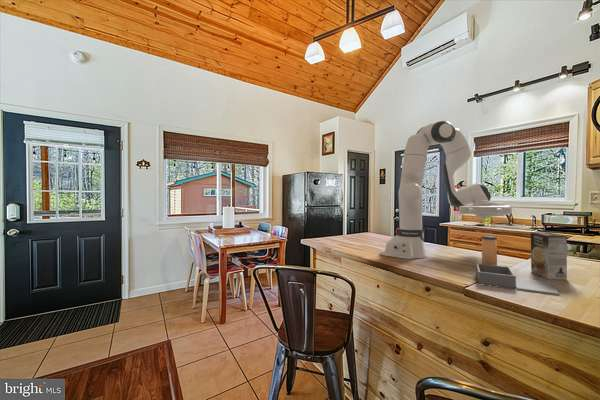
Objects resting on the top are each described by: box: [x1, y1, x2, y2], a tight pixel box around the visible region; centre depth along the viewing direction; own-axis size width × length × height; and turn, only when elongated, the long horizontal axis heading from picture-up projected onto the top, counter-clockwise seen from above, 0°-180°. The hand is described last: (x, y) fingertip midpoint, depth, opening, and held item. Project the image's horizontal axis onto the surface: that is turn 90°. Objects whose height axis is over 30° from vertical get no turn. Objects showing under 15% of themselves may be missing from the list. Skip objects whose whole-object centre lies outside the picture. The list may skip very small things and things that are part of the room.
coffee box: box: [530, 231, 568, 280], centre depth 94 cm, size 9×6×16 cm
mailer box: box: [475, 263, 560, 296], centre depth 87 cm, size 20×12×4 cm, turn 57°
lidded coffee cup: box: [480, 235, 498, 266], centre depth 103 cm, size 5×5×14 cm
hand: (485, 210), depth 113 cm, fingers open, 8 cm apart
